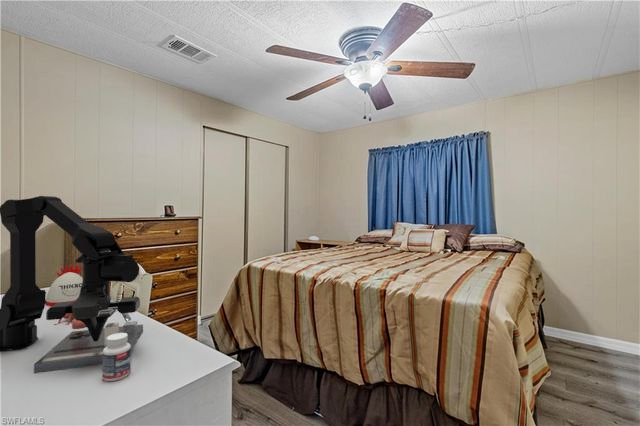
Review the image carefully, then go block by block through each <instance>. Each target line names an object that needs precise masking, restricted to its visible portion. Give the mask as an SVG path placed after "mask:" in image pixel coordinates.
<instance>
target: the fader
mask: <svg viewBox="0 0 640 426" xmlns="http://www.w3.org/2000/svg"><path fill="white" fill-rule="evenodd" d="M119 327H120V322H110V323H107V324H105V325H104V328H105V332H104V346H108V345H107V343H106V340H107V337H108V336H110V335H112V334H116V333H119Z"/></svg>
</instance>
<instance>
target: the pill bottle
mask: <svg viewBox="0 0 640 426" xmlns="http://www.w3.org/2000/svg"><path fill="white" fill-rule="evenodd" d="M127 341H128V334H127V333H116V334H112V335H110V336H108V337H107V340H106V343H107V345H108V346H107V347H105V348H104V350H103V364H102V367H101V368H102V373H101V375H102V376H101V377H102V380H103V381H105V382H113V381H114V382H115V381H119V380H122V379H124V378H126V377H127V376H129V374H130V373H131V361H132V359H131V358H132V357H131V353H132V350H131V346H130V344H129V343H127Z"/></svg>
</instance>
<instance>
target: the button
mask: <svg viewBox="0 0 640 426" xmlns="http://www.w3.org/2000/svg"><path fill="white" fill-rule="evenodd" d="M71 328H72V329H73V330H80V329H82V330H83V329H85V328H87V327H86V325H85V324H84V323H83V322H82V321H76V319H75V318H73V319H72V320H71Z"/></svg>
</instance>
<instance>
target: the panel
mask: <svg viewBox="0 0 640 426" xmlns="http://www.w3.org/2000/svg"><path fill="white" fill-rule="evenodd" d="M143 331H144V324H138V320H131V321H127V322H126V321H125V323H124V324H123V325H122V326H119V333H127V334H128V341H127V343H129V344H130V346H131V351H133V348H134V347H135V345H136V344H137V341H138V340H139V339H140V337H141V334H142V333H143ZM104 332H105V327H104V328H103V330H102V333H101V335H100V338H99V340H98V341H96V342H94V341H93V339H92V336H91V334H90V332H89V330H88V329H84V330H83V329H82V330H74V331H71V332H70V333H69V334H67V335H66V336H65V337H64V338H63V339H62V340H60V341H59V342H58V343H57V344H56V345H55V346H53V348H52V349H50V350H49V351H48V352H47V353H45V354H44V355H43V356H42V357H41V358H39V359H38V361H36V362H35V363H34V364H33V374H38V373H44V372H53V371H60V370H67V369H68V370H69V369H74V368H82V367H89V366H97V365H103V350H104V348H105V347H107V346H104ZM37 372H38V373H37Z"/></svg>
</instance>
